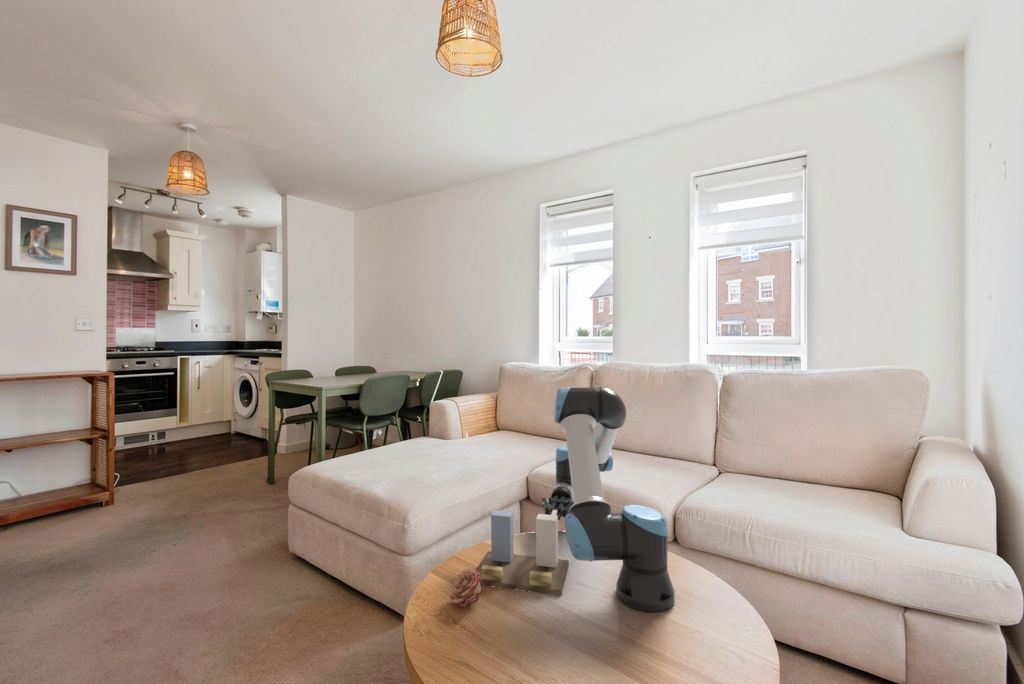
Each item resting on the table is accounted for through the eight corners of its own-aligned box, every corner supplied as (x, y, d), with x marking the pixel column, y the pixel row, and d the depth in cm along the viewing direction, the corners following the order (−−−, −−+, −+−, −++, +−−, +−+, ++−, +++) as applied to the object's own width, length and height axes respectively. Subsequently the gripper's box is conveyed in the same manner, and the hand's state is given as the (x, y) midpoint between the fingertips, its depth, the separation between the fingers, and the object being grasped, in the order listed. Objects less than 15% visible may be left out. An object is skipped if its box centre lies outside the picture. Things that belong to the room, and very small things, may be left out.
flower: (478, 581, 128) (462, 561, 126) (498, 587, 121) (481, 567, 119) (457, 613, 123) (439, 593, 121) (476, 622, 116) (458, 601, 114)
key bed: (568, 565, 140) (568, 550, 140) (561, 595, 124) (561, 579, 124) (487, 555, 147) (487, 542, 146) (470, 584, 130) (470, 568, 130)
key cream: (558, 560, 139) (557, 515, 139) (556, 567, 135) (555, 520, 135) (538, 558, 141) (538, 513, 140) (536, 565, 137) (535, 519, 136)
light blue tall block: (513, 556, 143) (513, 511, 142) (510, 562, 139) (510, 516, 138) (495, 553, 144) (494, 509, 144) (491, 560, 140) (491, 515, 140)
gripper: (579, 507, 170) (572, 535, 147) (545, 504, 173) (532, 531, 150) (579, 487, 169) (572, 512, 146) (544, 484, 172) (532, 508, 150)
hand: (552, 521), depth 148 cm, fingers closed
